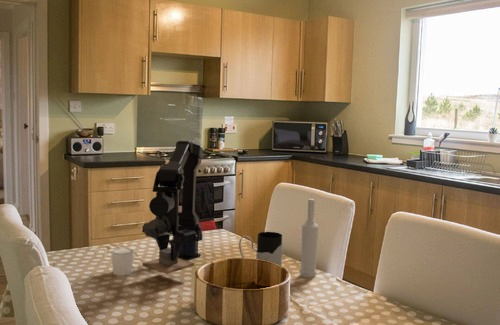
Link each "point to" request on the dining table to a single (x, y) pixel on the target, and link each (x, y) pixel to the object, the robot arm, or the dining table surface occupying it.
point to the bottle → (309, 243)
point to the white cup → (122, 261)
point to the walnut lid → (167, 263)
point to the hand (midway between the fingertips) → (168, 259)
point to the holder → (267, 247)
